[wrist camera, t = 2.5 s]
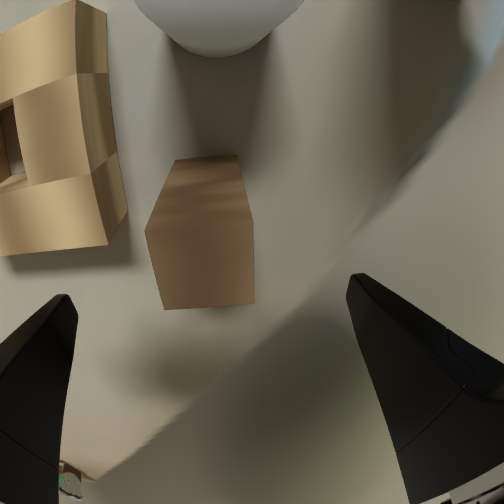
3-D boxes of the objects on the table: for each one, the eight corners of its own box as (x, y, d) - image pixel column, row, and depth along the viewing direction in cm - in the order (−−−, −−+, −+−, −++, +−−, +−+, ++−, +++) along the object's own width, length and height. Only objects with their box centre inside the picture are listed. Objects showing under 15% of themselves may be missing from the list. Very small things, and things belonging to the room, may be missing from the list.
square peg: (236, 155, 16) (253, 221, 9) (238, 210, 18) (254, 303, 11) (175, 160, 15) (144, 230, 9) (182, 214, 17) (164, 309, 11)
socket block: (106, 13, 10) (75, -1, 7) (128, 209, 17) (108, 244, 13) (-38, 80, 9) (-75, 90, 6) (-6, 230, 16) (-34, 260, 12)
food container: (44, 454, 47) (39, 485, 38) (61, 459, 47) (57, 491, 39) (68, 469, 54) (65, 497, 45) (85, 472, 54) (82, 502, 46)
